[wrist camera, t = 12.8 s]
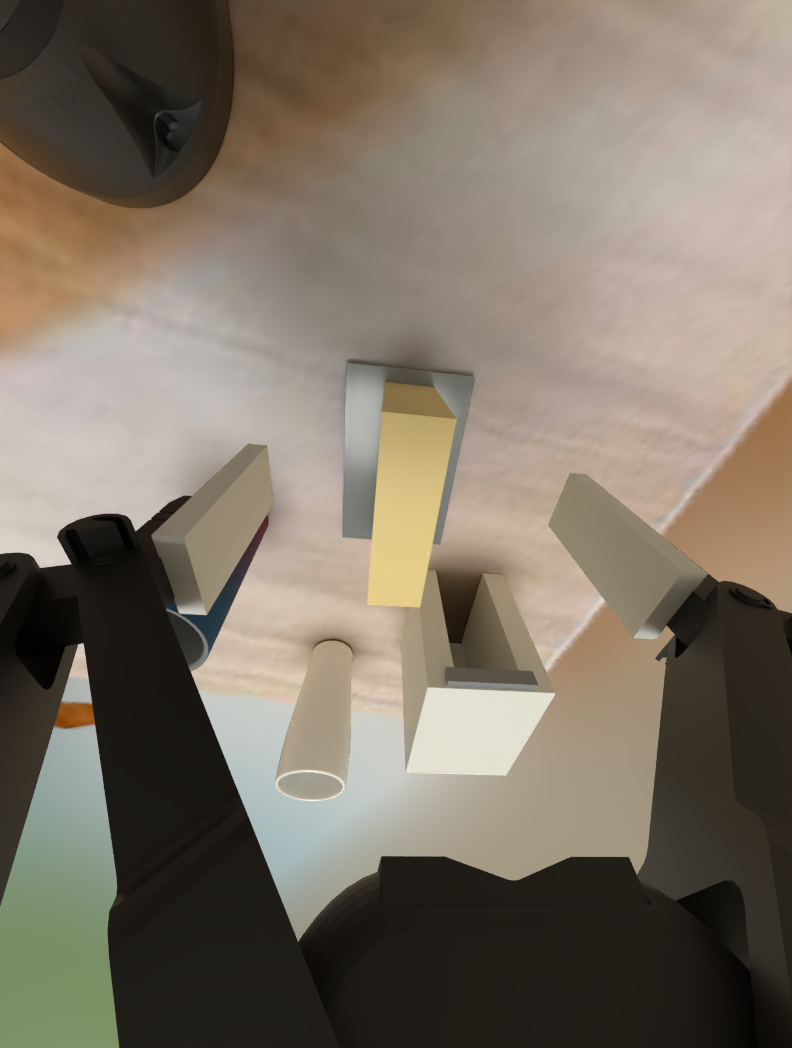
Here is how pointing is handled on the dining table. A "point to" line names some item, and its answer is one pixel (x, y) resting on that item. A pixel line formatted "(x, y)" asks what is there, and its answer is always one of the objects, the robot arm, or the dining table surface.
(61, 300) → the dining table surface
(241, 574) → the cup
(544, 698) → the box
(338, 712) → the drinking glass
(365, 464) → the slate pad
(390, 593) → the yellow rectangular block
